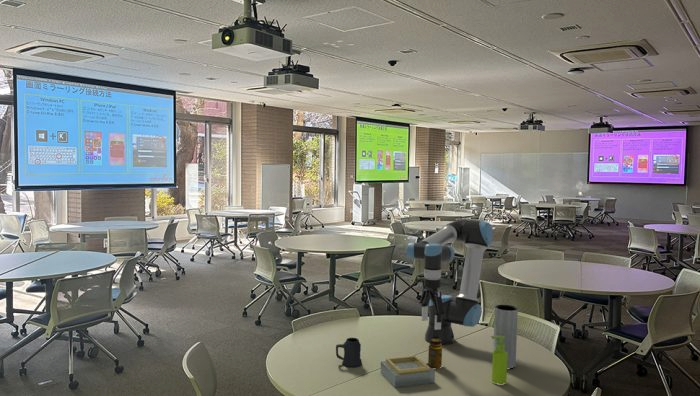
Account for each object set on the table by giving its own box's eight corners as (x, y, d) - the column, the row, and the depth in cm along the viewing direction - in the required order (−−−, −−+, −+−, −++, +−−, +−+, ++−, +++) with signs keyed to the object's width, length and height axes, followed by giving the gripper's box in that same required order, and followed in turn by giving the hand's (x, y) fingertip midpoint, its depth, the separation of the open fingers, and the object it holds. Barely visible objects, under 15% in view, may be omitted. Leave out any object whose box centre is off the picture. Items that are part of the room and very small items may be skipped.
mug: (362, 360, 245) (362, 336, 244) (362, 367, 236) (362, 343, 235) (336, 359, 245) (336, 335, 244) (335, 367, 236) (335, 342, 235)
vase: (502, 371, 235) (504, 311, 233) (488, 363, 244) (490, 305, 243) (520, 368, 239) (522, 309, 237) (505, 360, 248) (507, 303, 247)
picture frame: (415, 366, 239) (415, 352, 238) (434, 382, 221) (435, 367, 220) (378, 370, 233) (378, 355, 233) (394, 387, 215) (395, 372, 215)
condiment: (445, 367, 239) (446, 341, 238) (431, 370, 234) (432, 344, 233) (434, 362, 245) (435, 336, 244) (420, 365, 240) (421, 339, 239)
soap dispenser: (487, 380, 225) (489, 333, 224) (503, 379, 225) (504, 333, 224) (492, 385, 219) (494, 338, 218) (508, 385, 219) (510, 338, 218)
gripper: (413, 273, 248) (412, 317, 249) (437, 284, 224) (435, 333, 225) (428, 272, 250) (426, 316, 251) (453, 283, 226) (451, 332, 228)
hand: (431, 324), depth 238 cm, fingers open, 13 cm apart
